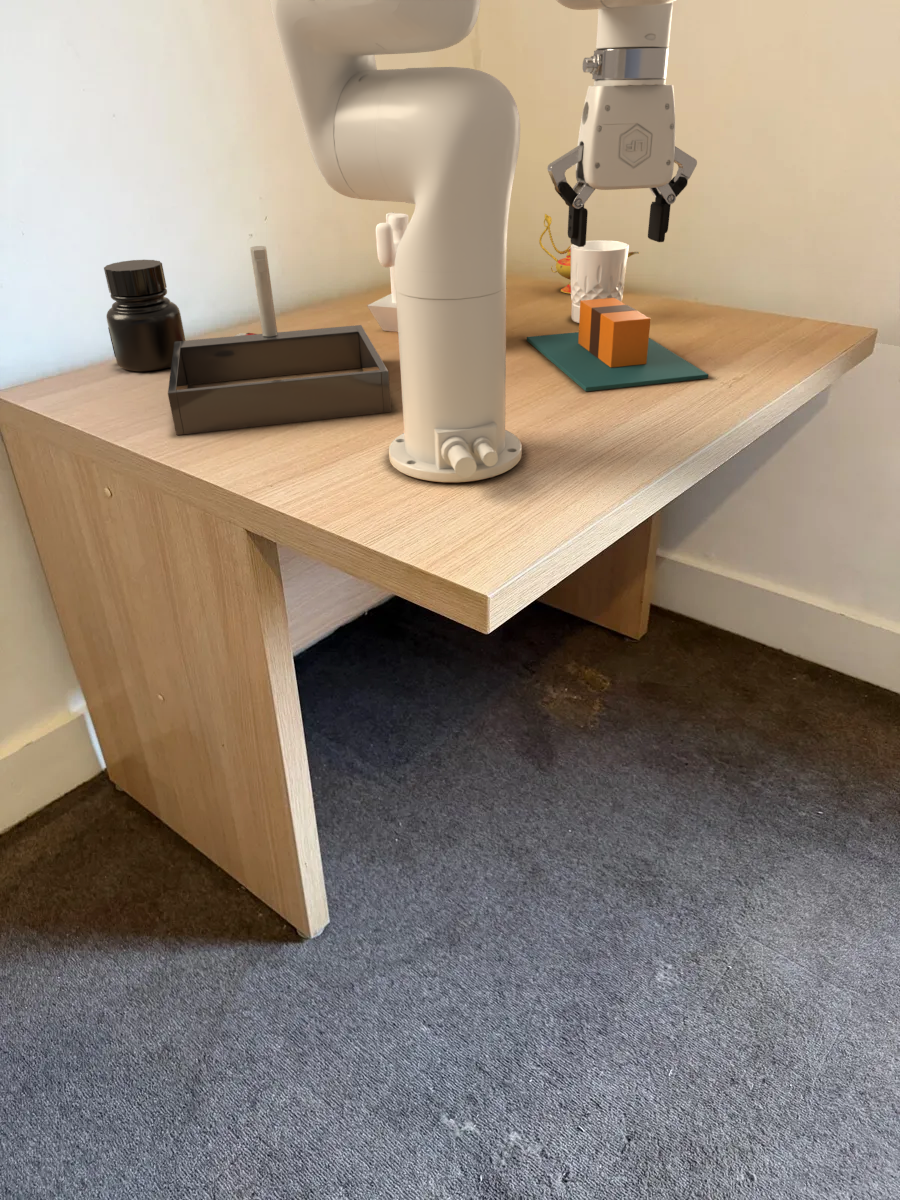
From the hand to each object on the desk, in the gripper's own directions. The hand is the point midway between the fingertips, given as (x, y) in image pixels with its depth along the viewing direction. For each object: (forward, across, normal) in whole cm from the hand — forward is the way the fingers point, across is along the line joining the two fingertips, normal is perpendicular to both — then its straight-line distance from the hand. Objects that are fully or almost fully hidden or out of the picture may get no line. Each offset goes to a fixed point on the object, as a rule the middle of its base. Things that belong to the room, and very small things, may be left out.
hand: (617, 242), depth 100 cm
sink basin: (+14, -40, 0) cm, 43 cm away
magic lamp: (+13, +10, +35) cm, 39 cm away
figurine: (+14, -21, +24) cm, 35 cm away
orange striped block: (+13, +1, +1) cm, 13 cm away
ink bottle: (+14, -55, +18) cm, 60 cm away
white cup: (+13, +6, +18) cm, 24 cm away
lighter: (+14, -41, +20) cm, 48 cm away
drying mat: (+14, +1, 0) cm, 14 cm away
